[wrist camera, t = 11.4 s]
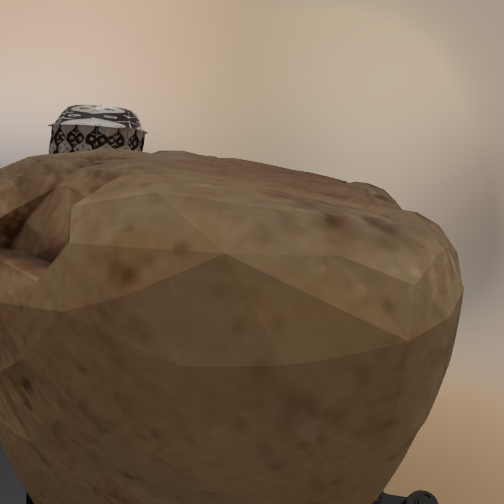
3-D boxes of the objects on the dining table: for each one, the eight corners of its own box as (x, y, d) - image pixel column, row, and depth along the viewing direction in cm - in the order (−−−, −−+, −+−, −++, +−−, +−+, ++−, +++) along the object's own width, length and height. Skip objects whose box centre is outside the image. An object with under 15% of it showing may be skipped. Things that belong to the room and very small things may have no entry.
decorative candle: (141, 414, 24) (164, 107, 17) (46, 407, 21) (29, 99, 14) (136, 355, 32) (157, 119, 26) (59, 350, 29) (61, 111, 22)
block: (225, 623, 6) (632, 279, 1) (90, 576, 7) (-104, 138, 2) (261, 493, 17) (369, 186, 11) (157, 462, 17) (181, 148, 12)
